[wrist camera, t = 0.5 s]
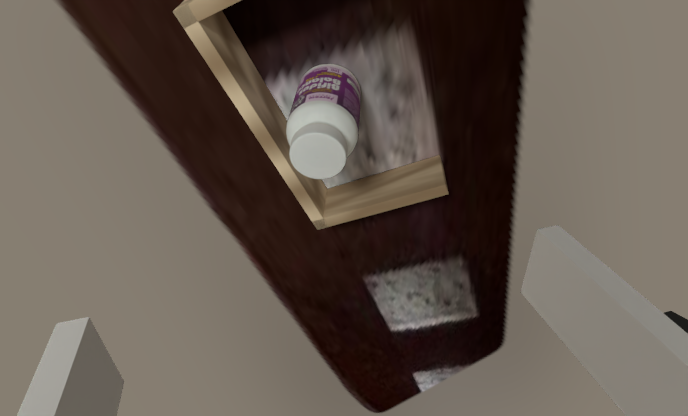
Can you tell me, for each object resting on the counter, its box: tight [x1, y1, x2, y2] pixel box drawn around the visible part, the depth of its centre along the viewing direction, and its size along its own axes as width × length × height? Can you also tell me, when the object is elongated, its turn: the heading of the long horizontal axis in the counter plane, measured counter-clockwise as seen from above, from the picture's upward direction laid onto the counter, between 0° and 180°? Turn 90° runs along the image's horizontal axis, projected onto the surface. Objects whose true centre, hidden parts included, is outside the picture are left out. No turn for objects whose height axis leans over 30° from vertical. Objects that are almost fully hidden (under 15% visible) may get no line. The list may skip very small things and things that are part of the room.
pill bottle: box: [286, 64, 361, 179], centre depth 32 cm, size 5×5×10 cm
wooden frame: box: [173, 0, 449, 230], centre depth 34 cm, size 22×13×4 cm, turn 23°
